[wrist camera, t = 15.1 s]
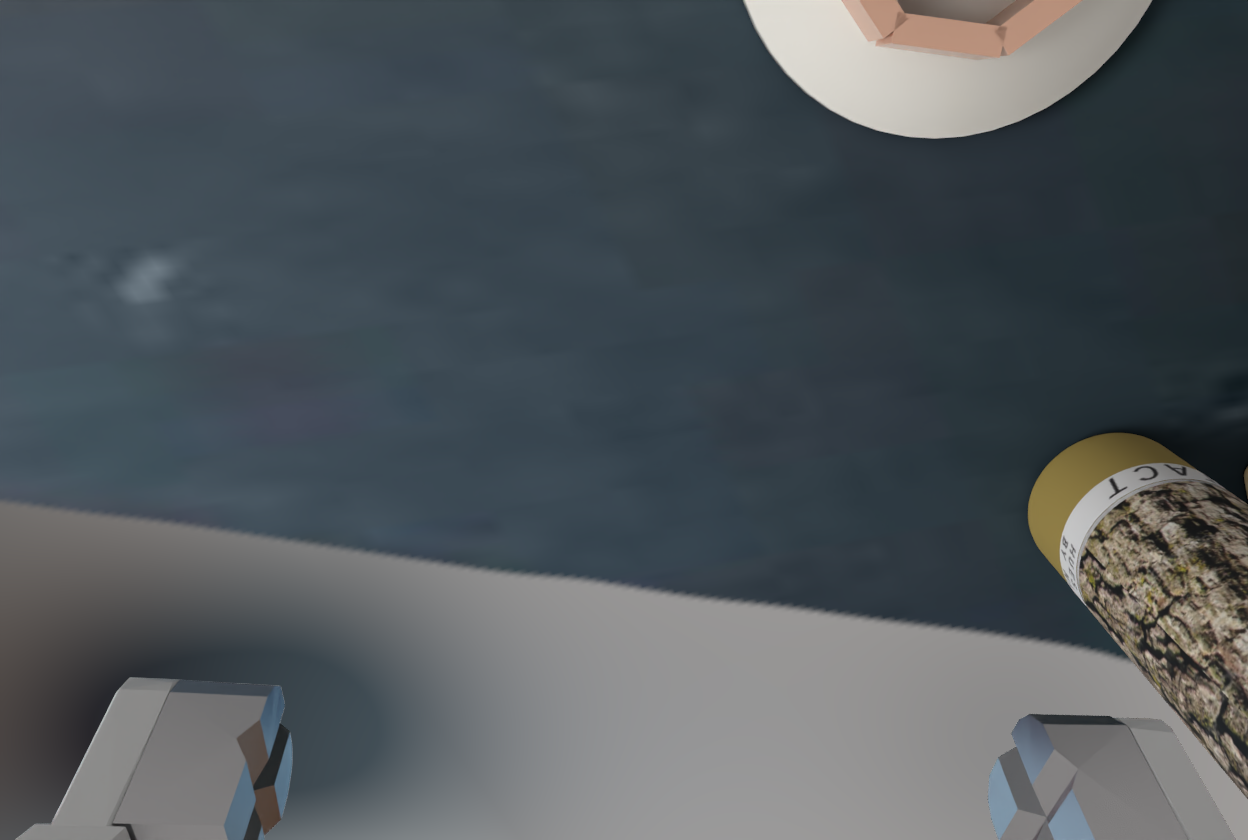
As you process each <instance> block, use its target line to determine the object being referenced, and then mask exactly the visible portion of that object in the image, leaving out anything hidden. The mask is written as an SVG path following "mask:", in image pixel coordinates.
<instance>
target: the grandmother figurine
mask: <svg viewBox="0 0 1248 840" xmlns="http://www.w3.org/2000/svg"><path fill="white" fill-rule="evenodd" d="M1244 481H1245V486H1246V492H1247V497H1248V466H1247V468H1246V470H1245V472H1244Z"/></svg>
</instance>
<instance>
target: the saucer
mask: <svg viewBox="0 0 1248 840" xmlns="http://www.w3.org/2000/svg"><path fill="white" fill-rule="evenodd" d="M1151 2H1152V0H743V3H744V5H745V8H746V10H747V12H748V15H749V17H750V19H751V22H752V24H753V26H754V29H755V30H756V32H757V34H758V35H759V37H760V39H761V40H762V42H763V44H764V46H765V47H766V49H767V51H768V52H769V54H770V55H771V56H772V58H773V59H774V60H775V61H776V63H777V64H778V65H779V66H780V68H781V69H782V70H783V72H784V73H785V74H786V75H787V76H788V77H789V78H790V79H791V80H792V81H793V82H794V83H795V84H796V85H797V86H798V87H799V88H800V89H801V90H802V91H803V92H805V93H806V94H807V95H808V96H810V97H811V98H813V99H814V100H815V101H817V102H818V103H819V104H821V105H822V106H824V107H825V108H826V109H828V110H830V111H832V112H834V113H836V114H838V115H839V116H841V117H843V118H845V119H847V120H849V121H851V122H854V123H857V124H859V125H862V126H865V127H868V128H871V129H873V130H877V131H882V132H887V133H891V134H896V135H901V136H906V137H919V138H935V139H936V138H950V137H963V136H968V135H973V134H978V133H983V132H988V131H992V130H995V129H998V128H1001V127H1004V126H1007V125H1010V124H1012V123H1015V122H1018V121H1020V120H1023V119H1025V118H1027V117H1029V116H1031V115H1033V114H1035V113H1037V112H1039V111H1041V110H1043V109H1045V108H1047V107H1048V106H1050V105H1052V104H1053V103H1055V102H1056V101H1058V100H1059V99H1061V98H1062V97H1064V96H1066V95H1067V94H1069V93H1070V92H1072V91H1073V90H1074V89H1075V88H1077V87H1078V86H1079V85H1080V84H1082V83H1083V82H1084V81H1085V80H1086V79H1088V78H1089V77H1090V76H1091V75H1093V74H1094V73H1095V72H1096V71H1097V70H1098V69H1099V68H1100V67H1101V66H1102V65H1103V64H1104V63H1105V62H1106V61H1107V60H1108V59H1109V58H1110V57H1111V56H1112V55H1113V54H1114V53H1115V52H1116V51H1117V50H1118V48H1119V47H1120V46H1121V45H1122V43H1123V42H1124V41H1125V39H1126V38H1127V37H1128V36H1129V34H1130V33H1131V32H1132V30H1133V29H1134V28H1135V27H1136V25H1137V24H1138V23H1139V21H1140V19H1141V18H1142V16H1143V15H1144V13H1145V11H1146V10H1147V8H1148V6H1149V5H1150V3H1151Z"/></svg>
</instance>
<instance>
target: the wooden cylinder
mask: <svg viewBox="0 0 1248 840" xmlns="http://www.w3.org/2000/svg"><path fill="white" fill-rule="evenodd" d="M1028 522H1029V527H1030V531H1031V534H1032V536H1033V539H1034V541H1035V543H1036V544H1037V546H1038V548H1039V549H1040V550H1041V552H1042V553H1043V554H1044V556H1045V557H1046V558H1047V559H1048V560H1049V561H1050V563H1051V564H1052V565H1053V566H1054V567H1055V569H1056V570H1057V571H1058V572H1059V573H1060V575H1061V576H1062V577H1063V578H1064V579H1065V581H1066V582H1067V583H1068V584H1069V586H1070V587H1071V588H1072V590H1073V591H1074V592H1075V593H1076V595H1077V596H1078V597H1079V598H1080V599H1081V601H1082V602H1083V603H1084V604H1085V605H1086V607H1087V608H1088V609H1089V610H1090V611H1091V612H1092V614H1093V615H1094V616H1095V617H1096V619H1097V620H1098V621H1099V622H1100V623H1101V624H1102V626H1103V627H1104V628H1105V629H1106V630H1107V632H1108V633H1109V634H1110V635H1111V636H1112V638H1113V639H1114V640H1115V641H1116V642H1117V644H1118V645H1119V646H1120V647H1121V648H1122V650H1123V651H1124V652H1125V653H1126V654H1127V656H1128V657H1129V658H1130V659H1131V660H1132V662H1133V663H1134V664H1135V665H1136V666H1137V667H1138V669H1139V670H1140V671H1141V672H1142V673H1143V675H1144V676H1145V677H1146V678H1147V679H1148V681H1149V682H1150V683H1151V684H1152V685H1153V687H1154V688H1155V689H1156V690H1157V691H1158V693H1159V694H1160V695H1161V696H1162V697H1163V699H1164V700H1165V701H1166V702H1167V703H1168V704H1169V706H1170V707H1171V708H1172V709H1173V710H1174V712H1175V713H1176V714H1177V715H1178V716H1179V718H1180V719H1181V720H1182V721H1183V722H1184V724H1185V725H1186V726H1187V727H1188V728H1189V730H1190V731H1191V732H1192V733H1193V734H1194V735H1195V737H1196V738H1197V739H1198V740H1199V741H1200V743H1201V744H1202V745H1203V746H1204V747H1205V749H1206V750H1207V751H1208V752H1209V753H1210V755H1211V756H1212V757H1213V758H1214V759H1215V761H1216V762H1217V763H1218V764H1219V765H1220V767H1221V768H1222V769H1223V770H1224V771H1225V773H1226V774H1227V775H1228V776H1229V777H1230V779H1231V780H1232V781H1233V782H1234V783H1235V784H1236V786H1237V787H1238V788H1239V789H1240V790H1241V792H1242V793H1243V794H1244V795H1245V796H1246V797H1247V799H1248V504H1246V503H1245V502H1244V501H1242V500H1241V499H1239V498H1238V497H1236V496H1235V495H1234V494H1232V493H1231V492H1229V491H1228V490H1226V489H1225V488H1224V487H1222V486H1221V485H1219V484H1218V483H1216V482H1215V481H1214V480H1212V479H1211V478H1209V477H1208V476H1206V475H1205V474H1203V473H1201V472H1200V471H1198V470H1197V469H1195V468H1194V467H1192V466H1191V465H1190V464H1188V463H1187V462H1185V461H1184V460H1182V459H1181V458H1180V457H1178V456H1177V455H1175V454H1174V453H1172V452H1171V451H1170V450H1168V449H1167V448H1165V447H1164V446H1162V445H1161V444H1159V443H1157V442H1155V441H1153V440H1151V439H1148V438H1146V437H1143V436H1139V435H1136V434H1130V433H1107V434H1101V435H1096V436H1093V437H1090V438H1086V439H1084V440H1082V441H1079V442H1077V443H1075V444H1073V445H1072V446H1070V447H1068V448H1067V449H1065V450H1064V451H1062V452H1061V453H1060V454H1058V455H1057V456H1056V457H1055V458H1054V459H1053V460H1052V461H1051V462H1050V463H1049V464H1048V465H1047V466H1046V467H1045V469H1044V470H1043V471H1042V473H1041V474H1040V476H1039V477H1038V479H1037V481H1036V483H1035V485H1034V487H1033V489H1032V492H1031V495H1030V499H1029V505H1028Z"/></svg>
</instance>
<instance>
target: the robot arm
mask: <svg viewBox="0 0 1248 840" xmlns="http://www.w3.org/2000/svg"><path fill="white" fill-rule="evenodd" d="M284 708H285V702H284V698H283V694H282V690H281V686H273V685H258V684H241V683H224V682H208V681H190V680H178V679H155V678H132V677H130V678H129V679H128V680H127V681H126V682H125V683H124V684H123V685H122V686H121V688H120V689H119V690H118V691H117V692H116V694H115V696H114V698H113V700H112V702H111V704H110V706H109V708H108V710H107V712H106V714H105V716H104V718H103V720H102V722H101V724H100V726H99V728H98V730H97V732H96V734H95V736H94V738H93V740H92V742H91V744H90V746H89V748H88V750H87V752H86V754H85V757H84V758H83V761H82V762H81V764H80V766H79V768H78V770H77V772H76V775H75V777H74V778H73V781H72V783H71V785H70V787H69V789H68V791H67V793H66V795H65V797H64V799H63V801H62V803H61V805H60V807H59V809H58V811H57V813H56V815H55V817H54V819H53V821H52V823H51V824H35V825H33V826H32V827H31V828H29V829H28V830H27V831H26V832H25V833H23V834H22V835H21V836H20V837H18V838H17V839H16V840H265V838H264V835H265V834H267V833H268V832H269V831H270V830H271V829H272V828H273V827H274V826H275V825H276V824H277V823H278V822H279V821H280V820H281V819H282V815H283V811H284V807H285V803H286V800H287V796H288V792H289V785H290V777H291V771H292V741H291V734H290V731H289V730H288V729H286V728H285V727H284V726H283V725H281V724H280V721H281V718H282V714H283V711H284ZM1012 737H1013V739H1014V742H1015V744H1016V747H1015V748H1013V749H1011V750H1010V751H1008V752H1006V753H1005V754H1003V755H1001V756H1000V757H998V759H997V761H996V763H995V765H994V767H993V769H992V771H991V773H990V776H989V789H988V803H989V808H990V814H991V820H992V822H993V825H994V828H995V831H996V834H997V837H998V840H1236V839H1235V837H1234V835H1233V834H1232V832H1231V830H1230V828H1229V826H1228V825H1227V823H1226V821H1225V820H1224V818H1223V816H1222V814H1221V813H1220V811H1219V809H1218V808H1217V806H1216V804H1215V802H1214V801H1213V799H1212V797H1211V795H1210V794H1209V792H1208V790H1207V789H1206V787H1205V785H1204V783H1203V781H1202V780H1201V778H1200V776H1199V775H1198V773H1197V771H1196V769H1195V768H1194V766H1193V764H1192V762H1191V761H1190V759H1189V757H1188V756H1187V754H1186V752H1185V750H1184V749H1183V747H1182V746H1181V743H1180V742H1179V740H1178V738H1177V736H1176V735H1175V733H1174V732H1173V730H1172V729H1171V728H1170V727H1169V726H1168V725H1166V723H1164V722H1163V721H1162V720H1158V719H1146V718H1112V717H1110V716H1082V715H1081V716H1080V715H1040V714H1029V715H1027V716H1025V717H1023V718H1021V719H1019V721H1018V722H1017V724H1016V726H1015V728H1014V729H1013V731H1012Z"/></svg>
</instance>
